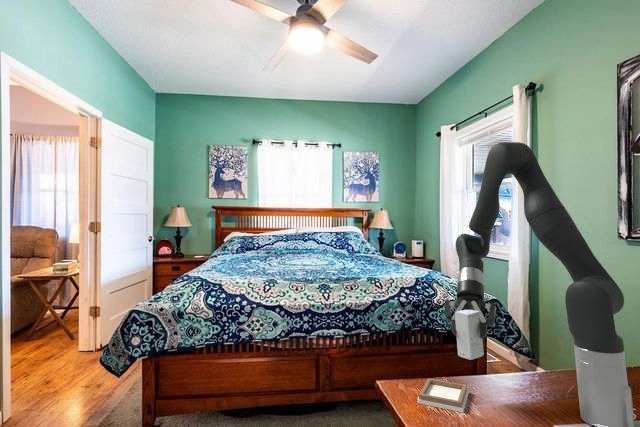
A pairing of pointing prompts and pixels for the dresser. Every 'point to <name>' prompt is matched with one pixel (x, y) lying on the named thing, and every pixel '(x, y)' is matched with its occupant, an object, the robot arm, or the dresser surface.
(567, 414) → the dresser surface
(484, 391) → the dresser surface
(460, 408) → the tray
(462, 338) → the skincare box
